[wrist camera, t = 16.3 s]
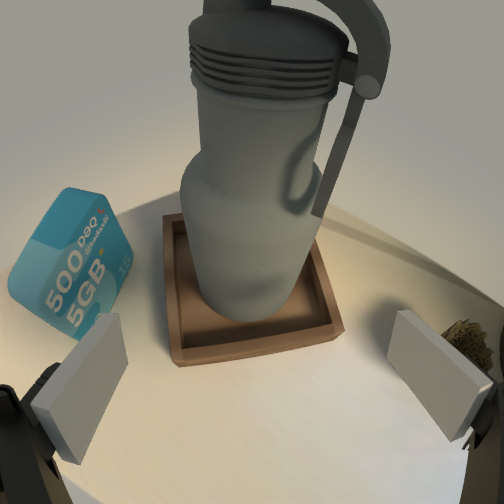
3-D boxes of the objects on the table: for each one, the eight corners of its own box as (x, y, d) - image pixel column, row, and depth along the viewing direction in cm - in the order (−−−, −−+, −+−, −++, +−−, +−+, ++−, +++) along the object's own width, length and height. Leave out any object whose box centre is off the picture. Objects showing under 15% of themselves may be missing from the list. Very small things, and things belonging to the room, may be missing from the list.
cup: (394, 353, 28) (435, 331, 21) (438, 334, 29) (480, 309, 23) (411, 412, 25) (457, 406, 18) (455, 387, 26) (500, 373, 19)
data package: (94, 349, 27) (31, 309, 16) (64, 333, 27) (0, 289, 17) (136, 256, 33) (102, 186, 23) (107, 247, 33) (68, 179, 23)
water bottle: (307, 263, 32) (405, -7, 9) (273, 342, 28) (415, -3, 4) (225, 229, 34) (228, -39, 10) (182, 298, 29) (97, -21, 5)
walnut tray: (333, 340, 29) (344, 331, 26) (178, 367, 27) (171, 361, 24) (295, 217, 37) (300, 199, 34) (167, 233, 35) (162, 215, 32)
